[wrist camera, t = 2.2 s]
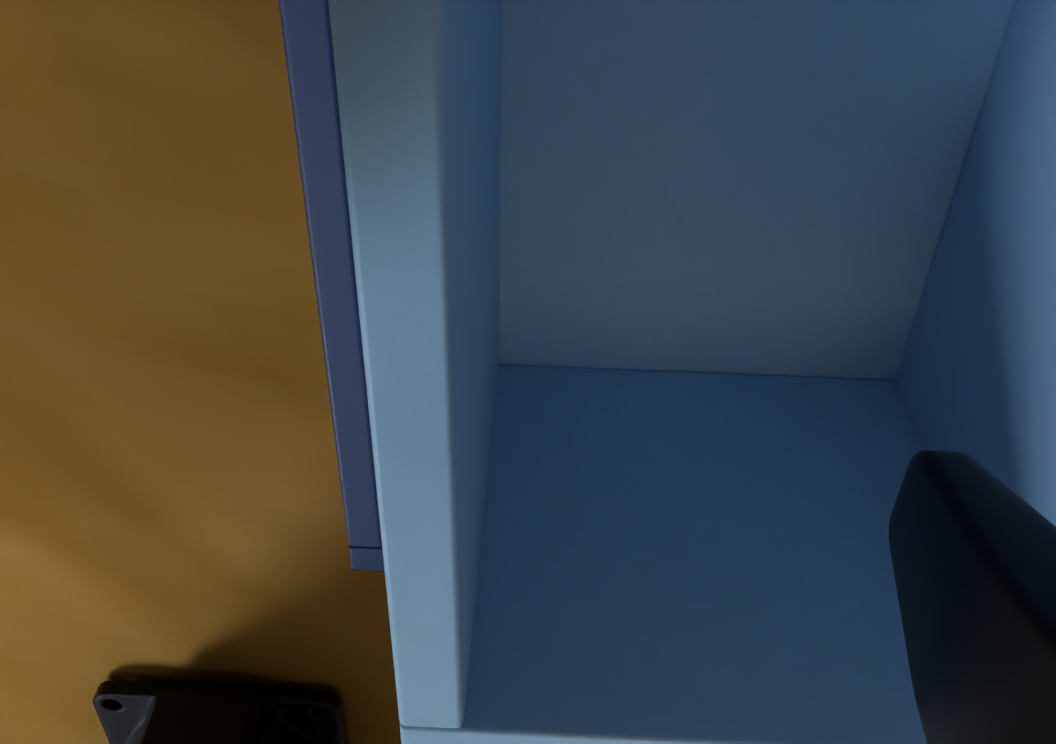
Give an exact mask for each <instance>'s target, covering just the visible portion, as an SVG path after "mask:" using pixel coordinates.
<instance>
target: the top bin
mask: <svg viewBox="0 0 1056 744" xmlns="http://www.w3.org/2000/svg"><path fill="white" fill-rule="evenodd" d="M328 4H329V14H330V24H331V34H332V44H333V54H334V64H335V75H336V85H337V95H338V105H339V115H340V125H341V135H342V145H343V156H344V166H345V176H346V186H347V196H348V206H349V216H350V226H351V237H352V247H353V257H354V267H355V277H356V287H357V297H358V307H359V318H360V328H361V338H362V348H363V358H364V368H365V378H366V389H367V399H368V409H369V419H370V429H371V439H372V449H373V459H374V470H375V480H376V490H377V500H378V510H379V520H380V530H381V540H382V551H383V561H384V571H385V581H386V591H387V601H388V611H389V621H390V632H391V642H392V652H393V662H394V672H395V682H396V692H397V703H398V713H399V720H400V735H401V744H927V741H926V738H925V734H924V731H923V728H922V724H921V720H920V716H919V712H918V708H917V704H916V700H915V695H914V690H913V685H912V679H911V674H910V668H909V662H908V656H907V650H906V644H905V637H904V631H903V625H902V619H901V613H900V607H899V601H898V595H897V588H896V582H895V576H894V570H893V564H892V558H891V552H890V546H889V521H890V516H891V513H892V510H893V507H894V504H895V502H896V499H897V496H898V493H899V490H900V487H901V485H902V482H903V479H904V476H905V473H906V470H907V468H908V465H909V463H910V460H911V459H912V457H913V456H914V455H915V454H916V453H917V452H920V451H923V450H935V451H958V452H963V453H966V454H968V455H969V456H971V457H972V458H974V459H975V460H976V461H977V462H979V463H980V464H981V465H982V466H983V467H985V468H986V469H987V470H988V471H989V472H991V473H992V474H993V475H994V476H996V477H997V478H998V479H999V480H1000V481H1002V482H1003V483H1004V484H1005V485H1006V486H1008V487H1009V488H1010V489H1011V490H1012V491H1014V492H1015V493H1016V494H1017V495H1018V496H1020V497H1021V498H1022V499H1023V500H1024V501H1026V502H1027V503H1028V504H1029V505H1030V506H1032V507H1033V508H1034V509H1035V510H1037V511H1038V512H1039V513H1040V514H1041V515H1043V516H1044V517H1045V518H1046V519H1047V520H1049V521H1050V522H1051V523H1052V524H1053V525H1055V526H1056V0H328Z"/></svg>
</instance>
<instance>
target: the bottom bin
mask: <svg viewBox="0 0 1056 744" xmlns="http://www.w3.org/2000/svg"><path fill="white" fill-rule="evenodd" d="M279 8H280V16H281V24H282V31H283V39H284V47H285V55H286V62H287V70H288V78H289V86H290V93H291V101H292V109H293V117H294V124H295V132H296V140H297V148H298V155H299V163H300V171H301V179H302V186H303V194H304V202H305V210H306V217H307V225H308V233H309V241H310V248H311V256H312V264H313V272H314V279H315V287H316V295H317V303H318V311H319V318H320V326H321V334H322V342H323V349H324V357H325V365H326V373H327V380H328V388H329V396H330V404H331V411H332V419H333V427H334V435H335V442H336V450H337V458H338V466H339V473H340V481H341V489H342V497H343V504H344V512H345V520H346V528H347V535H348V542H349V553H350V561H351V567H352V569H353V570H369V571H384V561H383V551H382V540H381V530H380V520H379V510H378V500H377V490H376V480H375V470H374V459H373V449H372V439H371V429H370V419H369V409H368V399H367V389H366V378H365V368H364V358H363V348H362V338H361V328H360V318H359V307H358V297H357V287H356V277H355V267H354V257H353V247H352V237H351V226H350V216H349V206H348V196H347V186H346V176H345V166H344V156H343V145H342V135H341V125H340V115H339V105H338V95H337V85H336V75H335V64H334V54H333V44H332V34H331V24H330V14H329V4H328V0H279Z"/></svg>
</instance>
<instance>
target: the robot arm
mask: <svg viewBox="0 0 1056 744" xmlns="http://www.w3.org/2000/svg"><path fill="white" fill-rule="evenodd" d="M889 546H890V552H891V558H892V564H893V570H894V576H895V582H896V588H897V595H898V601H899V607H900V613H901V619H902V625H903V631H904V637H905V644H906V650H907V656H908V662H909V668H910V674H911V679H912V685H913V690H914V695H915V700H916V704H917V708H918V712H919V716H920V720H921V724H922V728H923V731H924V734H925V738H926V741H927V744H1056V526H1055V525H1053V524H1052V523H1051V522H1050V521H1049V520H1047V519H1046V518H1045V517H1044V516H1043V515H1041V514H1040V513H1039V512H1038V511H1037V510H1035V509H1034V508H1033V507H1032V506H1030V505H1029V504H1028V503H1027V502H1026V501H1024V500H1023V499H1022V498H1021V497H1020V496H1018V495H1017V494H1016V493H1015V492H1014V491H1012V490H1011V489H1010V488H1009V487H1008V486H1006V485H1005V484H1004V483H1003V482H1002V481H1000V480H999V479H998V478H997V477H996V476H994V475H993V474H992V473H991V472H989V471H988V470H987V469H986V468H985V467H983V466H982V465H981V464H980V463H979V462H977V461H976V460H975V459H974V458H972V457H971V456H969V455H968V454H966V453H963V452H958V451H935V450H923V451H920V452H917V453H916V454H915V455H914V456H913V457H912V459H911V460H910V463H909V465H908V468H907V470H906V473H905V476H904V479H903V482H902V485H901V487H900V490H899V493H898V496H897V499H896V502H895V504H894V507H893V510H892V513H891V516H890V521H889ZM93 704H94V707H95V709H96V712H97V714H98V716H99V719H100V721H101V723H102V726H103V728H104V731H105V733H106V735H107V738H108V740H109V742H110V744H349V742H348V735H347V729H346V723H345V716H344V710H343V703H342V700H341V698H340V697H339V696H337V695H336V694H335V693H332V692H330V691H325V690H311V689H289V688H268V687H246V686H224V685H202V684H180V683H158V682H136V681H114V680H113V681H105V682H103V683H101V684H100V686H99V687H98V689H97V692H96V694H95V696H94V699H93Z"/></svg>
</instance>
